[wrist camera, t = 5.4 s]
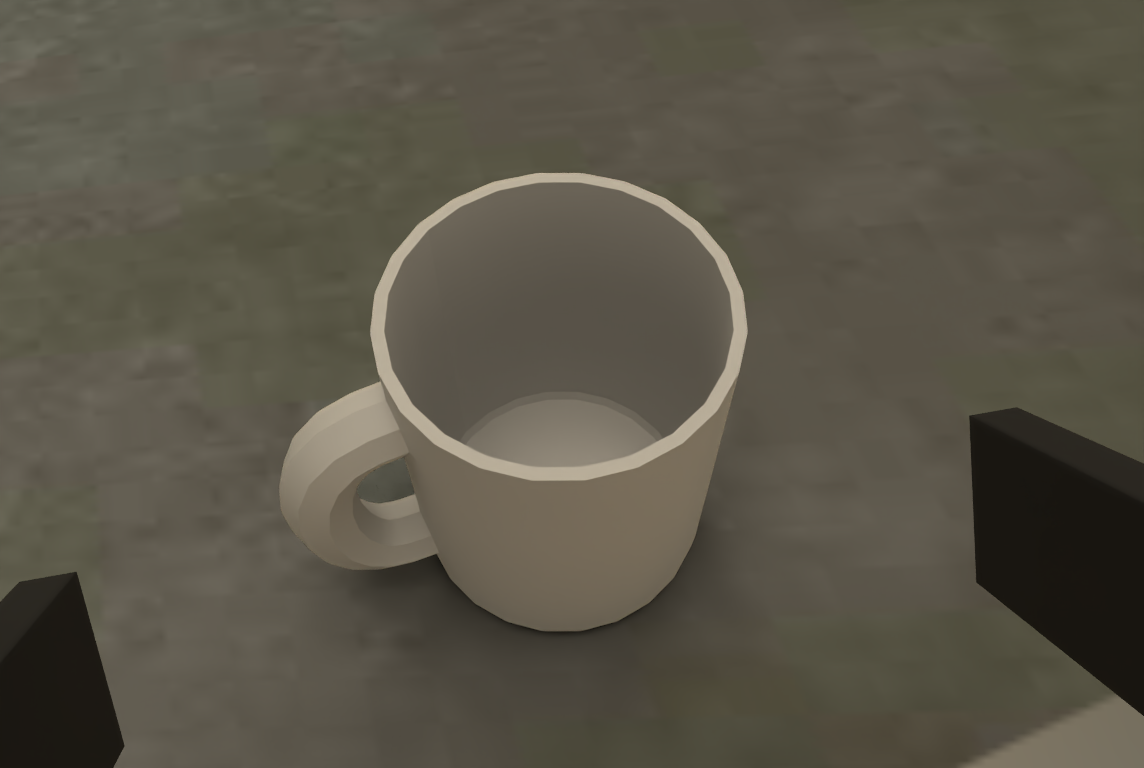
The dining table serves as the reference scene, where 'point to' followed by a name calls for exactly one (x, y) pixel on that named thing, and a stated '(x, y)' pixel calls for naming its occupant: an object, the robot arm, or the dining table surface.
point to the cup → (534, 401)
